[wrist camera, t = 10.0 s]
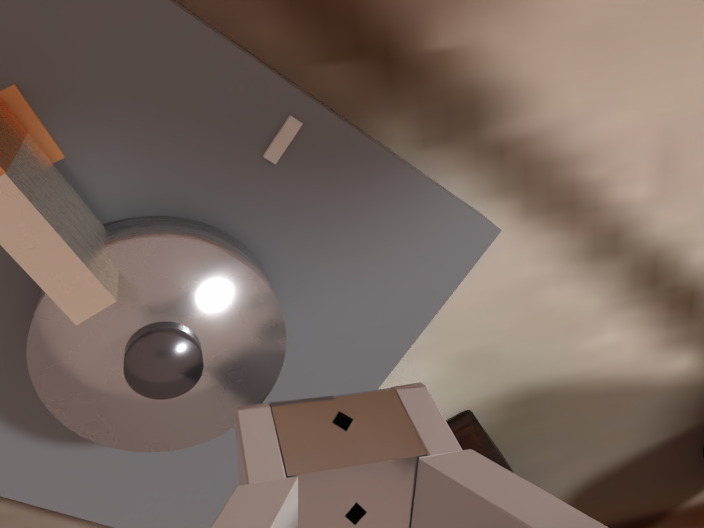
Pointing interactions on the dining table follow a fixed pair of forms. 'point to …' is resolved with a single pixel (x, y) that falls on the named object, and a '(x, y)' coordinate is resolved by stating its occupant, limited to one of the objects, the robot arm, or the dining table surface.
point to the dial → (135, 312)
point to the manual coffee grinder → (476, 438)
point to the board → (221, 212)
